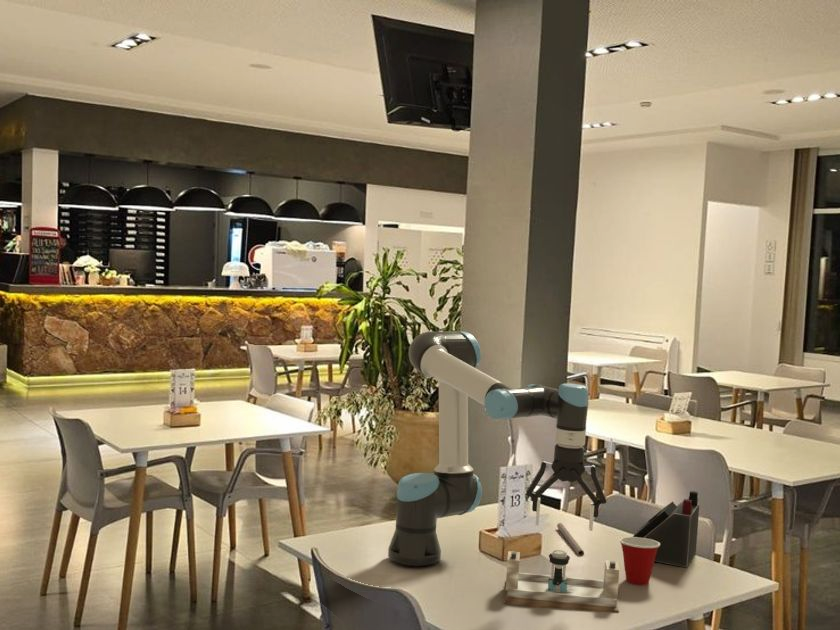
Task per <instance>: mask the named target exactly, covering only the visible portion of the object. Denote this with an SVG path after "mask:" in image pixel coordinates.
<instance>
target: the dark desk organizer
mask: <svg viewBox="0 0 840 630" xmlns="http://www.w3.org/2000/svg"><path fill="white" fill-rule="evenodd" d="M698 493H699V492H697V491H693V490H692V491H691V490H690V491H689V496H688V498H687V499H686V498H684V499H683V501H681V502H680V503H679V504H677V505H676V503H675V502H674V501H671V502H669V503H668V504H667V505H666V506H664V507H663V508H662V509H661V510H659V511H658V512H657V513H656V514H655V515H654V516H652V517H651V518H649V520H647V522H645V524H643V525H642V526H640V527H639V529H638V530H637V531H636V532H635V534H633V536H632V537H639V538H646V539H651V540H655V541H657V542H659V543H660V546H659V548H658V550H657V553H656V556H655V560H654V562H658V563H663V564H667V565H674V566H678V567H684V568H688V567H689V565H690V563H691V561H692V560H693V558H694V556H695V554H696V553H697V542H698V528H699V518H700V517H699V516H700V503H698V501H699V498H698V495H699V494H698Z"/></svg>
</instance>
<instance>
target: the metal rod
mask: <svg viewBox="0 0 840 630" xmlns="http://www.w3.org/2000/svg"><path fill="white" fill-rule="evenodd" d="M556 526H557V529H558V530H559V531H560V533H561V534H562V535H563V537H564V538H565V539H566V541H567V542H568V544H569V545H570V547H571V548H572V549H573V550H574V551H575V553H576V554H577V556H584V555H585V551H584V550H583V548H582V547H581V546H580V544H579V543H578V542H577V541H576V540H575V538H574V536H573V535H572V534H571V533H570V532H569V530H567V528H566V527H565V526H564V524H563V523H562V522H559V523H557V524H556Z"/></svg>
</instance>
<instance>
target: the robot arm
mask: <svg viewBox="0 0 840 630" xmlns="http://www.w3.org/2000/svg"><path fill="white" fill-rule="evenodd" d="M408 358H409V361H410V364H411V366H412V367H413V369H415V370H417V372H418V373H420V374H422V375H423V376H426V377H427V378H434V379H435V380H436V381H437V382H438V441H439V442H438V446H439V448H438V449H439V450H438V453H439V454H438V455H439V456H438V458H439V459H438V460H439V461H438V465H436V466H435V467H434V470H433V473H430V472H417V473H416V472H414V473H410V474H407V475H405V476H403V477H401V479H399V481H398V484H397V491H396V515H395V529H394V532H393V535H392V538H391V540H390V543H389V546H388V549H387V556H388V559H389V560H391V561H393V562H394V563H398V564H401V565H405V566H420V567H421V566H428V565H434V564H436V563H438V562H440V560H441V558H442V557H441V556H442V550H441V546H440V542H439V538H438V534H437V522H438V521H437V520H438V519H441V518H443V519H444V518H448V517H452V516H462V515H465V514H467V513H471V512H473V511H475V509H476V508H477V507H478V506H479V504H480V502H481V500H482V495H483V489H482V488H483V487H482V484H481V482H480V478H479V477H478V475H476V474H475V473H474V468H473V467H472V466H471V464H470V463H469V411H468V410H469V398H470V399H472V400H474V401H476V402H477V403H478V404H481V405H482V406H484V409H485V411H486V412H487V415H488V416H489V418H491V419H493V420H503V421H505V420H509V419H517V418H528V417H529V418H530V417H538V416H539V417H540V416H543V417H548V418H553V419H555V420H556V425H555V426H556V427H555V439H554V440H555V441H554V442H555V443H556V444H555V445H554V452H553V453H554V454H553V461H552V462H548V461H546V460H544V459H543V460H542V461H541V463H540V468H539V470H538V471H537V472H536V474H535V476H534V478H533V479H532V481H531V483H530V484H529V486H528V488H527V490H526V493H525V495H526V496H527V497H530V498H531V499H532V503H531V504H532V505H531V506H532V507H531V509H532V512H535V514H536V515H535V526H539V525H540V524H539V522H540V511H541V496H542V495H543V494H544V493H545V492H546V491H547V490H548V489H550V487H551V486H552V485H553V484H554V483H555V482H557V481H558V480H559V481H561V482H570V483H574V482H576V481H577V482H578V484H579V486H580V487H581V488H582V490H583V491H584V492H585V493H586V494H587V497H589V498H590V501H592V502H590V507H589V509H590V511H589V518H588V519H589V522H588V530H589V531H590V532H591V531H592V532H593V528H594V518H598V517H599V509H600V508H599V506H600V505H603V504H607V499H606V496H605V493H604V491H603V488H602V486H601V484H600V481H599V479H598V477H597V473H596V472H597V471H596V466H595V465H594V464H591V465H585V464H584V460H585V448H586V447H584V446H585V445H586V437H587V436H586V434H587V433H586V432H587V418H588V410H589V409H588V408H589V402H590V401H589V389H588V387H587V386H585V385H583V384H578V383H577V384H576V383H561V384H560V385H559V386H558V388H554V387H550V386H545V385H543V384H533V383H532V384H527V386H525V387H515V388H513V387H510V386H509V385H507V384H505V383H503V382H501V381H500V380H498V379H495V377H492V376H490V375H488V374H487V373H485V372H483V371H481V370H479V369H477V367H478V366H479V364H480V362H481V359H482V350H481V346H480V344H479V342H478V340H477V339H476V338H475V336H474V335H473V334H471V333H470V332H467V331H461V330H460V331H459V330H451V331H450V330H448V331H445V330H444V331H425V332H422V333H420V334H419V335H416V336H415V337H414V339H412V341H411V343H410V345H409V347H408ZM550 468H551V469H552V472H553V473H552V474H551V475H550V477H549V478H548V479H547V480H545V482H544V483H543V484H541V486H540V487H539V488H537V489H536V487H537V485H538V484H539V483H540V481H541V479H543V478H542V477H543V475H544V474H545V472H546V471H549V469H550ZM584 472H587V475H590V477H591V480H592V482H593V485H594V487H595V490H596V491H597V494H598V496H599V498H598V497H597V496H596V494H595V493H594V492H593V490H592V489H591V488H590V486H589V485H588V483H586V480H585V479H584V478H583V477H582V475H583V474H584ZM535 489H536V490H535ZM534 491H535V492H534Z"/></svg>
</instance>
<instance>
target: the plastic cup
mask: <svg viewBox="0 0 840 630" xmlns="http://www.w3.org/2000/svg"><path fill="white" fill-rule="evenodd" d="M619 543H620V545H621V550H622V553H623V566H624V567H623V568H624V571H625V580H626V582H627V583H629V584H631V585H637V586H645V585H646V586H647V585H648V584H649V583H650V579H651V576H652V571H653V567H654V563H655V561H654V560H655V556H656V553H657V550H658V548H659V546H660V543H659V542H657V541H655V540H651V539H646V538H639V537H633V536H627V537H626V536H625V537H621V538H619Z"/></svg>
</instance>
